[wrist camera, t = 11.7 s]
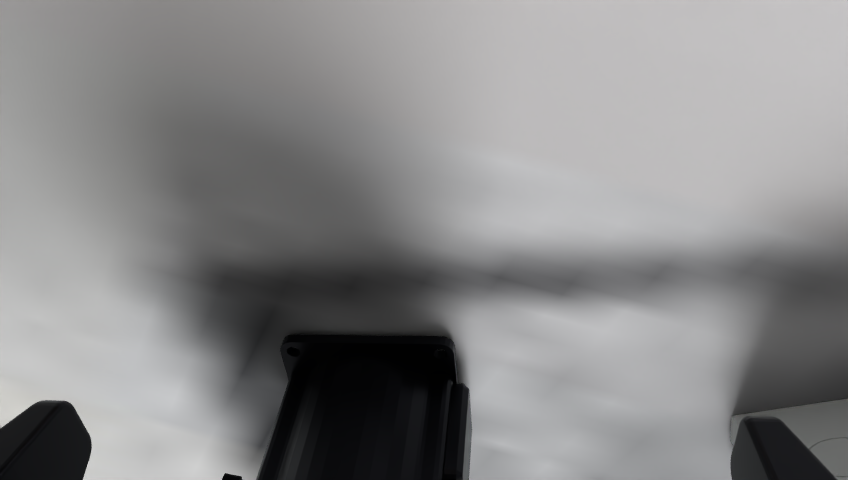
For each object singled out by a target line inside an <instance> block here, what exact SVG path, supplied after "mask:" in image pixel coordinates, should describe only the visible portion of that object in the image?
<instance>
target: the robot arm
mask: <svg viewBox="0 0 848 480" xmlns="http://www.w3.org/2000/svg"><path fill="white" fill-rule="evenodd" d="M292 347H295V348H297V349H294V348H292ZM437 349H442V350H445V351H438V350H437ZM281 355H282V358H283V362H284V365H285V369H286V372H287V376H288V379H289V382H288V385H287V388H286V391H285V394H284V397H283V400H282V403H281V406H280V409H279V412H278V415H277V418H276V421H275V424H274V427H273V430H272V433H271V436H270V439H269V442H268V445H267V448H266V451H265V454H264V457H263V461H262V464H261V467H260V470H259V473H258V476H257V479H256V480H469V469H470V453H471V438H472V422H471V409H470V395H469V389H468V387H467V386H466V385H465V384H460V383H458V377H457V365H456V353H455V345H454V343H453V342H452V341H451V340H450V339H448V338H446V337H441V336H367V335H289V336H287V337H285V338H284V340H283V343H282V345H281ZM91 448H92V447H91V438H90V435H89V433H88V432H87V430H86V428H85V426H84V425H83V423H82V421H81V419H80V417H79V416H78V414H77V412H76V410H75V408H74V407H73V405H72V404H71V403H69V402H67V401H52V400H45V401H39V402H37V403H35V404H33V405H32V406H30V407H29V408H28V409H26V410H25V411H24V412H22V413H21V414H20V415H18V416H17V417H16V418H14V419H13V420H11V421H10V422H9V423H7V424H6V425H5V426H3V427H2V428H1V429H0V480H83V477H84V474H85V471H86V467H87V464H88V461H89V458H90V454H91ZM731 476H732V480H838V479H837V478H836V477H835V476H834V475H833V474H832V473H831V472H830V471H829V470H828V469H827V468H826V467H825V466H824V465H823V463H822V462H821V461H820V460H819V459H818V458H817V457H816V456H815V455H814V454H813V453H812V452H811V451H810V450H809V449H808V447H807V446H806V445H805V444H804V443H803V442H802V441H801V440H800V439H799V438H798V437H797V436H796V435H795V434H794V433H793V432H792V430H791V429H790V428H789V427H788V426H787V425H786V424H785V423H784V422H783V421H782V420H780V419H779V418H777V417H774V416H751V415H748V416H745V417H743V418H742V419H741V421H740V424H739V427H738V431H737V435H736V439H735V443H734V447H733V451H732V455H731ZM222 480H242V477H241V476H236V475H231V474H226V473H225V474H224V476H223V478H222Z"/></svg>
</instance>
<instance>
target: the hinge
mask: <svg viewBox="0 0 848 480" xmlns="http://www.w3.org/2000/svg"><path fill="white" fill-rule="evenodd" d="M748 415H751V416H774V417H777V418H779V419H780V420H782V421H783V422H784V423H785V424H786V425H787V426H788V427H789V428H790V429H791V430H792V432H793V433H794V434H795V435H796V436H797V437H798V438H799V439H800V440H801V441H802V442H803V443H804V444H805V445H806V446H807V447H808V449H809V450H810V451H811V452H812V453H813V454H814V455H815V456H816V457H817V458H818V459H819V460H820V461H821V462H822V463H823V465H824V466H825V467H826V468H827V469H828V470H829V471H830V472H831V473H832V474H833V475H834V476H835V477H836V478H837V479H838V480H848V399H841V400H834V401H828V402H821V403H814V404H808V405H801V406H794V407H787V408H781V409H774V410H767V411H761V412H754V413H747V414H740V415H734V416H732V419H731V432H730V441H731V443H732V444H733V446H734V443H735V439H736V435H737V431H738V427H739V424H740V421H741V419H742V418H743V417H745V416H748Z"/></svg>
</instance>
